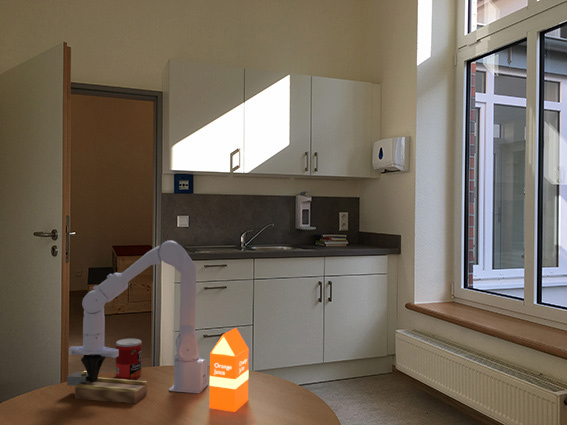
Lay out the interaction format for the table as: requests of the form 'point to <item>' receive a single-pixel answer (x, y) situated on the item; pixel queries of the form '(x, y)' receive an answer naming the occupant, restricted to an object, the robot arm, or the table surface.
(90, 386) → the wooden channel tray
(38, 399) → the table surface
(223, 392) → the orange juice
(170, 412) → the table surface
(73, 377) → the grey block with knob
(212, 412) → the table surface
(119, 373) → the canned food
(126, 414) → the table surface
